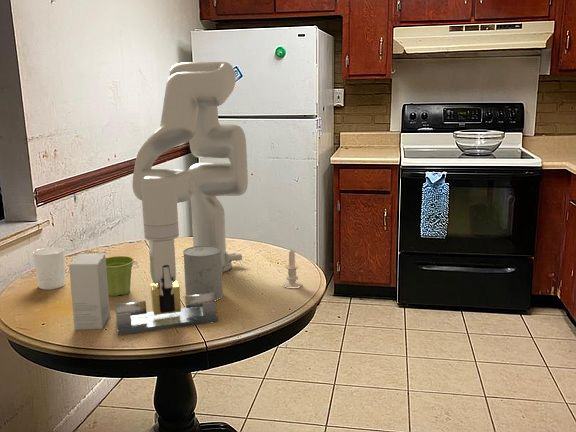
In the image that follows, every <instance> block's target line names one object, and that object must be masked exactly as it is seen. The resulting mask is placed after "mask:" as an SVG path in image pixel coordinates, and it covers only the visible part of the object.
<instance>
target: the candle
mask: <svg viewBox="0 0 576 432" xmlns="http://www.w3.org/2000/svg"><path fill="white" fill-rule="evenodd" d="M284 268H285V269H287V273H288V275H287V276H286V278H285V279H286V280H287V281H284V282H283V283H282V286H283V285H284V286H286V287H298V286H301V285H302V286H303V283H302V282H301V281H298V280H299V276H298V275H297V269H300V265H298V264H296V254H295V250H294V249H291V250H289V251H288V264H287V265H285V266H284ZM302 286H301V287H302Z"/></svg>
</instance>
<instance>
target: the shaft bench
mask: <svg viewBox="0 0 576 432" xmlns="http://www.w3.org/2000/svg"><path fill="white" fill-rule="evenodd" d="M216 302H217V301H215V298H214V293H213V292H212V293H204V294H195V295H187V296H186V295H184V305H185V306H184V307H181V312H174V313H167V314H159V315H154V313H153V311H147V303H146V300H140V301H131V302H124V303H123V302H121V303H115V317H116V327H117V336H126V335H132V334H133V335H134V334H140V333H147V332H153V331H154V332H155V331H162V330H169V329H176V328H184V327H191V325H192V326H197V325H205V324H212V323H211V322H213V323H218V322H219V317H218V316H217V308H216V307H217V304H216ZM217 321H218V322H217Z"/></svg>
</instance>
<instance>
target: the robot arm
mask: <svg viewBox="0 0 576 432" xmlns="http://www.w3.org/2000/svg"><path fill="white" fill-rule="evenodd" d="M166 81H167V82H166V85H165V91H164V96H163V97H164V99H163V105H162V111H161V112H162V113H161V119H160V125H159V128H158V129H157V130H156V131H154V133H152V134H151V135H150V136H149V137H148V138H147V139H146V140H145V142H144V143H143V144H142V146H141V147H140V149H139V151H137V155H136V158H135V161H134V168H133V175H132V191H133V193H134V196H135V198H137V199H138V200H140V201H141V204H142V206H141V208H142V221H143V234H144V239H145V240H147V241H148V246H149V247H148V248H149V249H148V251H149V273H150V277H151V280H152V283H154V284H157V283H159V284H160V295H159V300H160V312H161V313H165V312H173V311H175V303H174V294H173V284H172V282H175V281H177V280H176V278H177V277H176V276H177V275H176V273H177V271H176V267H177V266H176V252H175V239H178V238H179V236H180V233H179V232H180V231H179V230H180V229H179V217H178V215H179V214H178V212H179V211H178V203H185V202H187V201H189V200H190V208H191V225H192V227H191V228H192V242H193V243H192V245H193V246H192V247H195V246H215V247H218V248H220V249H221V267H222V273H225V271H226V272H228V271H229V269H230V270H231V268H232V267H233V266H232V262H233V261H236V262H237V261H242V260H243V255H242V253H237V254H236V252H234V253H228V252H227V246H226V244H227V243H226V219H225V218H226V217H225V216H226V215H225V209H224V205H223V204H222V203H221V201H220V200H219V199H218V198H217V197H240V196H242V195H244V194H245V193H246V192H247V190H248V183H249V180H248V178H249V177H248V176H249V174H248V155H247V154H248V153H247V139H246V134H245V131H244V130H243V128H242V127H241V126H240V125H237V124H221V123H220V122H219V111H218V110H219V109H218V107H220V106H222V105H223V104H224V103H225V102H226V101H227V100H228V98H230V96H231V95H232V93H233V91H234V89H235V85H236V73H235V68H234V67H233V66H232V65H231V64H230V63H229V62H226V61H190V62H189V61H186V62H180V63H175V64H174V65H172V66H171V68H170V69H169V77H168V79H167V80H166ZM188 141H189V150H190V152H191V154H192V156H194V157H195V158H199V159H225V160H226V159H227V160H228V161H229V162H197V163H193V164H192V165H190V167H189V168H188V169H187V170H186V169H164V168H163V169H161V168H157V169H156V168H152V167H153V165H154V163H155V162H156V160H157V159H158V158H159V157H160V156H161V155H162V154H164V153H166V152H168V151H169V150H171V149H173V148H175V147H179V146H180V145H182V144H184V143H187V142H188ZM162 280H164V282H161V281H162ZM162 285H164V287H163V286H162Z"/></svg>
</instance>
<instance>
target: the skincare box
mask: <svg viewBox="0 0 576 432" xmlns="http://www.w3.org/2000/svg"><path fill="white" fill-rule="evenodd" d="M106 256H107V255H106V252H98V253H95V252H94V253H78V254H76V256H75V257H74V258H73V259H72V261H70V263H69V264H68V270H69V280H70V281H69V282H70V292H71V293H70V294H71V302H72V303H71V304H72V305H71V306H72V315H73V326H74V327H73V328H74V330H75V331H80V330H83V331H84V330H85V331H86V330H103V329H104V327H105V325H106V323H107V321H108V319H109V318H110V315H111V314H110V301H109V295H108V286H107V271H106V258H107V257H106Z"/></svg>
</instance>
